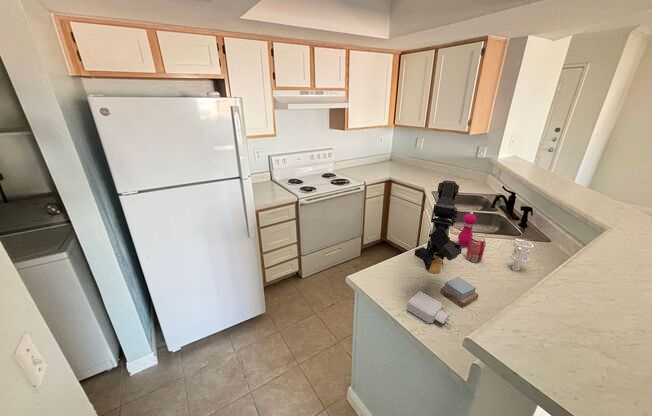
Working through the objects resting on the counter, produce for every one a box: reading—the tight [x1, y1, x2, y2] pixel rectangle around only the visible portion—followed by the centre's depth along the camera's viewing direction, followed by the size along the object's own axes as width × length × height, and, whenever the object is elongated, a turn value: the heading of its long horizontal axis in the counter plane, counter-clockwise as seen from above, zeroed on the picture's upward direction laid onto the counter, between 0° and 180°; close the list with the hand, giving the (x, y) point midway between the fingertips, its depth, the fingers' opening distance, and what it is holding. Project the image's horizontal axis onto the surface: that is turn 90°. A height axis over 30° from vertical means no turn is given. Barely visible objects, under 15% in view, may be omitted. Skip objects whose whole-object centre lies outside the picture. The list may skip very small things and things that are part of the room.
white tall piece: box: [509, 238, 534, 272], centre depth 124 cm, size 7×7×15 cm
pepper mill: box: [457, 211, 477, 249], centre depth 143 cm, size 7×7×20 cm
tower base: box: [439, 286, 479, 309], centre depth 108 cm, size 10×10×3 cm
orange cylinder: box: [424, 255, 444, 275], centre depth 107 cm, size 6×6×5 cm
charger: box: [406, 290, 454, 325], centre depth 98 cm, size 5×9×15 cm
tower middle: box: [443, 276, 477, 300], centre depth 107 cm, size 8×8×3 cm
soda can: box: [465, 235, 487, 263], centre depth 131 cm, size 7×7×12 cm
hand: (432, 267), depth 108 cm, fingers closed on orange cylinder, 6 cm apart
